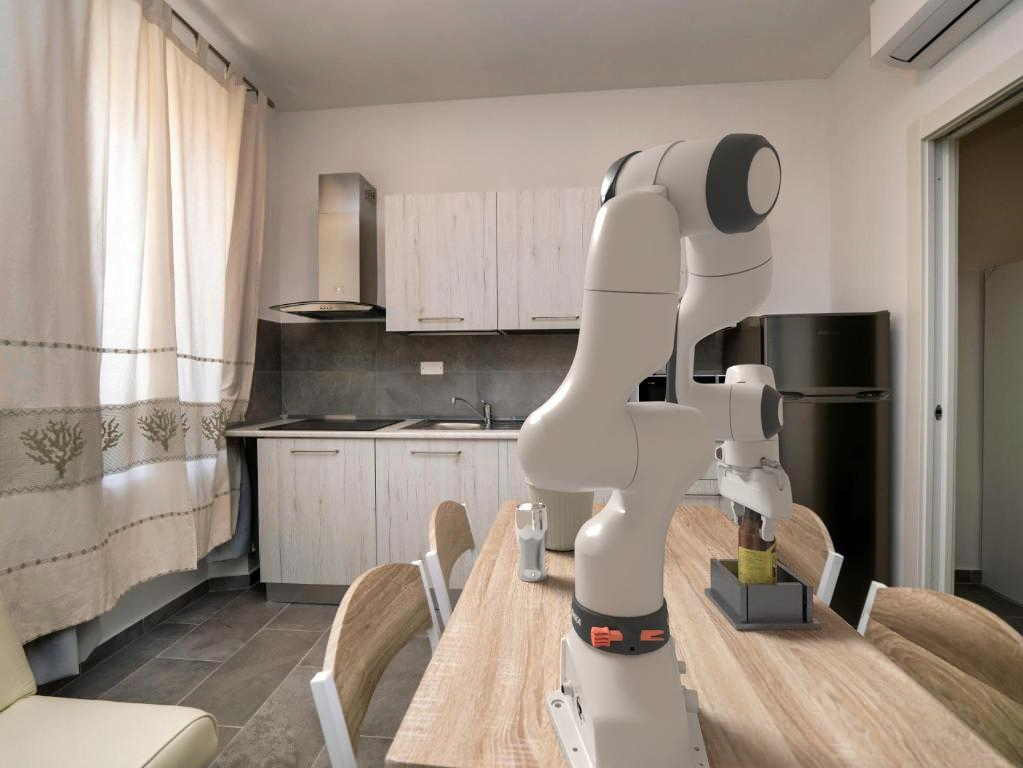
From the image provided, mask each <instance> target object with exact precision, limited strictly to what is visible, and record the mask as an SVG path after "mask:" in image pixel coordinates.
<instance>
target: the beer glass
mask: <svg viewBox="0 0 1023 768" xmlns="http://www.w3.org/2000/svg"><path fill="white" fill-rule="evenodd" d="M514 517H515V518H514V530H515V531H514V532H515V537H516V538H515V539H516V545H517V550H518V556H519V557H518V558H519V564H518V565H519V566H518V572H517V577H518V579H519V580H521V581H523V582H528V583H537V582H541V581H544V580H545V579H546V578H547V569H546V563H545V559H546V557H545V555H546V549H547V548H546V543H547V536H548V516H547V506H546V505H545V504H543V503H537V502H530V501H528V502H521V503H517V504H516V506H515V515H514Z"/></svg>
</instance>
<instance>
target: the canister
mask: <svg viewBox="0 0 1023 768" xmlns="http://www.w3.org/2000/svg"><path fill="white" fill-rule="evenodd" d="M524 482H525V483H526V484H527V491H528V499H529V501H528V502H537V503H543V504H545V505H546V506H547V516H548V536H547V543H546V549H547V550H552V551H559V552H560V551H563V552H565V551H575V540H576V537H577V534H578V532H579V530H580V528H581V527H582V526H583V524H584V523H586V522H587V521H588V520H589V519H591V518H592V517H593V511H594V510H593V508H594V499H595V497H594V496H595V491H594V492H581V493H569V492H560V491H553V490H546V489H540V488H537V487H535V486H534V485H533V484H532V483H531V482H530V481H529V480H528V478H527V477H525V479H524Z"/></svg>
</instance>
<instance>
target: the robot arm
mask: <svg viewBox="0 0 1023 768" xmlns="http://www.w3.org/2000/svg"><path fill="white" fill-rule="evenodd" d="M602 180H603V182H602V184H601V187H600V199H599V201H600V202H599V203H600V209H599V210H598V212H597V214H596V216H595V221H594V223H593V224H594V225H593V229H592V231H591V237H590V242H589V247H588V251H587V257H586V265H585V271H584V282H583V283H584V284H583V294H582V296H583V297H582V309H581V317H580V327H579V332H578V333H579V334H578V342H577V346H576V350H575V355H574V358H573V361H572V364H571V365H570V368H569V370H568V372H567V374H566V376H565V379H564V380H563V381H562V383H561V384H560V386H559V387H558V388H557V390H555V392H554V393H553V394H552V396H551V397H550V398H549V399H547V400H546V401H545V402H544V403H543V404H542V405H540V406H539V407H538V408H536V409H535V410H534V411H532V412H531V413H530V414H529V415H528V417H526V419H525V420H524V422H523V424H522V426H521V428H520V431H519V432H518V436H517V442H516V453H517V454H516V455H517V459H518V463H519V466H520V468H521V470H522V473H523V474H524V476H525V478H528V480H529V481H530V482H531V483H532V484H533V485H534V486H535V487H537V488H540V489H546V490H553V491H560V492H569V493H581V492H594V493H595V492H604V491H605V492H606V491H612V494H611V496H610V498H609V500H608V502H607V503H606V505H605V506H604V507H603V508H602V510H601V511H599V512H598V513H597V514H595V515H593V516H592V518H591V519H589V520H588V521H587V522H586V523H584V524H583V526H582V527H581V528H580V530H579V532H578V534H577V537H576V540H575V549H574V585H575V586H574V590H573V591H572V594H571V595H572V597H571V603H570V612H571V624H572V627H570V629H569V630H568V632H567V633H566V634H565V635H563V637H562V638H561V640H560V652H559V653H560V657H559V660H560V661H559V688H558V689H555V690H554V691H551V692H550V693H548V695H547V696H546V701H545V708H546V710H547V713H548V715H549V718H550V721H551V724H552V726H553V728H554V731H555V734H556V737H557V738H558V742H559V744H560V746H561V749H562V751H563V754H564V757H565V759H566V762H567V765H568V768H711V767H710V763H709V758H708V754H707V750H706V746H705V741H704V738H703V734H702V729H701V724H700V721H699V717H698V713H700V712H699V711H700V702H699V701H700V700H699V695H698V691H697V690H695V689H693V688H686V685H684V684H683V683H682V679H681V675H686V674H687V665H686V662H685V661H683V660H678V658H677V653H676V638H675V637H673V636H672V634H671V630H670V614H669V610H668V603H667V599H666V598H665V595H664V591H665V590H664V587H665V586H664V580H665V579H664V578H665V577H664V576H665V575H664V573H665V556H666V555H665V554H666V552H665V551H666V545H667V544H666V543H667V537H668V532H669V530H670V526H671V525H672V524H671V523H672V521H673V519H674V516H675V514H676V511H677V509H678V507H679V505H680V503H682V500H683V499H684V497H685V496H686V493H688V492H689V490H690V489H691V487H692V486H693V485H694V484H695V483H696V482H698V480H699V479H701V478H702V477H703V476H705V474H706V473H707V472H708V471H709V469H710V468H711V466H712V465H713V461H714V458H715V459H716V460H717V465H716V466H717V467H716V469H717V471H716V472H717V484H718V489H719V492H720V494H721V496H722V497H724V498H726V499H728V500H730V506H731V511H732V513H733V516H734V517H733V519H734V521H733V522H734V524H735V525H737V526H739V527H740V526H741V524H742V522H743V521H744V519H745V516H744V513H745V507H747V508H749V509H751V510H753V511H756V512H758V513H760V514H761V519H762V520H763V525H762V528H759V533H760V535H759V536H760V538H761V539H763V540H765V541H773V540H774V535H775V531H776V527H777V525H778V523H779V520H788V519H789V520H790V519H791V518H792V516H793V513H794V504H793V496H792V495H793V494H792V488H791V487H792V486H791V481H790V478H789V476H788V474H787V473H786V472H785V470H784V468H783V467H782V465H781V462H780V453H779V452H780V450H779V448H780V447H779V443H780V442H779V434H778V433H779V432H781V430H783V428H785V425H786V424H785V415H784V414H785V412H784V399H785V396H784V395H783V394H781V393H780V392H779V391H778V390H777V386H776V383H775V382H776V381H775V377H774V376H775V375H774V372H773V369H772V368H771V367H770V366H767V365H766V364H761V363H760V364H759V363H741V364H735V365H732V366H730V367H728V368H727V369H726V372H725V379H724V383H701V382H697V381H695V379H694V363H695V350H696V348H695V347H696V345H697V344H698V343H699V341H701V340H703V339H704V338H705V337H707V336H709V335H712V334H713V333H715V332H718V331H720V330H722V329H726V328H728V327H731V326H733V325H735V324H737V323H740V322H741V321H743V320H745V319H746V318H748V317H750V316H751V315H752V314H753V313H755V312H756V311H757V310H758V309H759V308H760V307H762V305H763V304H764V303H765V302H766V300H767V298H768V296H769V294H770V293H771V290H772V283H773V267H774V266H773V264H774V263H773V250H772V249H773V248H772V240H771V232H770V227H769V221H768V216H769V215H770V213H771V212H772V211H773V209H774V208H775V206H776V203H777V201H778V199H779V194H780V190H781V183H782V165H781V160H780V156H779V154H778V151H777V149H776V148H775V147H774V145H772V143H770V141H769V140H768V139H767V138H766V137H765V136H764V135H762V134H761V135H760V134H757V133H756V134H755V133H746V132H745V133H743V132H741V133H729V134H727V135H726V136H724V137H722V136H720V137H705V138H699V139H692V140H691V139H689V140H675V141H673V142H672V141H671V142H668V143H662V144H659V145H657V146H654V147H651V148H648V149H646V150H635V151H633V152H629V153H628V154H625V155H623V156H621V157H620V158H618V159H617V160H616V161H614V162H613V163H612V164H611V165H610V167H609V168H608V170H607V171H606V174H605V176H604V179H602ZM682 238H685V257H686V266H687V273H688V275H687V276H688V278H687V279H688V280H687V286H686V289H685V292H684V294H683V295H682V296H681V297H680V298H679V296H680V294H679V292H680V283H681V272H682V271H681V268H682V267H681V266H682V253H681V252H682V251H681V250H682V249H681V245H682V244H681V239H682ZM664 367H666V390H665V391H666V392H665V398H664V401H658V400H657V401H631V402H629V399H630V396H631V395H632V393H633V392H634V391H635V389H637V387H638V386H639V385H640V384H641V383H642V382H643V381H644V380H645V379H647V378H648V377H650V376H652V375H654V374H656V373H658V372H659V371H660V370H662V369H663V368H664ZM716 441H722V442H724V443H722V444H720V446H716V443H717V442H716Z"/></svg>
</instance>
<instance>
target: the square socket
mask: <svg viewBox="0 0 1023 768" xmlns="http://www.w3.org/2000/svg"><path fill="white" fill-rule="evenodd" d="M709 563H710V564H709V565H710V572H709V574H710V577H709V578H710V579H709V580H710V587H704V591H703V592H704V593H703V594H704V595H705V596H706V597H707V598H708V599H709V600H710V602H711V603H712V604H713V606H715V607H716V609H717V610H718V611H719V613H721V615H722V616H723V617H724V618H725V619H726V620H727V622H728V623H729V625H731V626H732V627H733V629H734V630H735V631H782V630H783V631H785V629H786V631H789V630H790V629H792V630H793V631H794V629H796V631H797V630H801V631H803V630H804V631H805V629H807V630H808V629H817V630H822V623H821V622H820V621H818V620H817V618H815V617H814V585H812V584H811V583H809V582H808V581H807V580H805V579H804V578H802V577H801V576H799V575H798V574H797V573H796V572H794V571H793V570H791V569H790V568H788V567H787V566H786V565H784V564H783V563H781V562H780V561H779V560H777V583H745V585H744V584H743V583H742V582H741V581H740V580H739V579H738V558H721V559H720V558H719V560H718V559H717V558H716V557H715V558H714V557H713V558H710V559H709ZM802 629H803V630H802ZM790 631H791V630H790ZM808 631H809V630H808Z"/></svg>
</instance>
